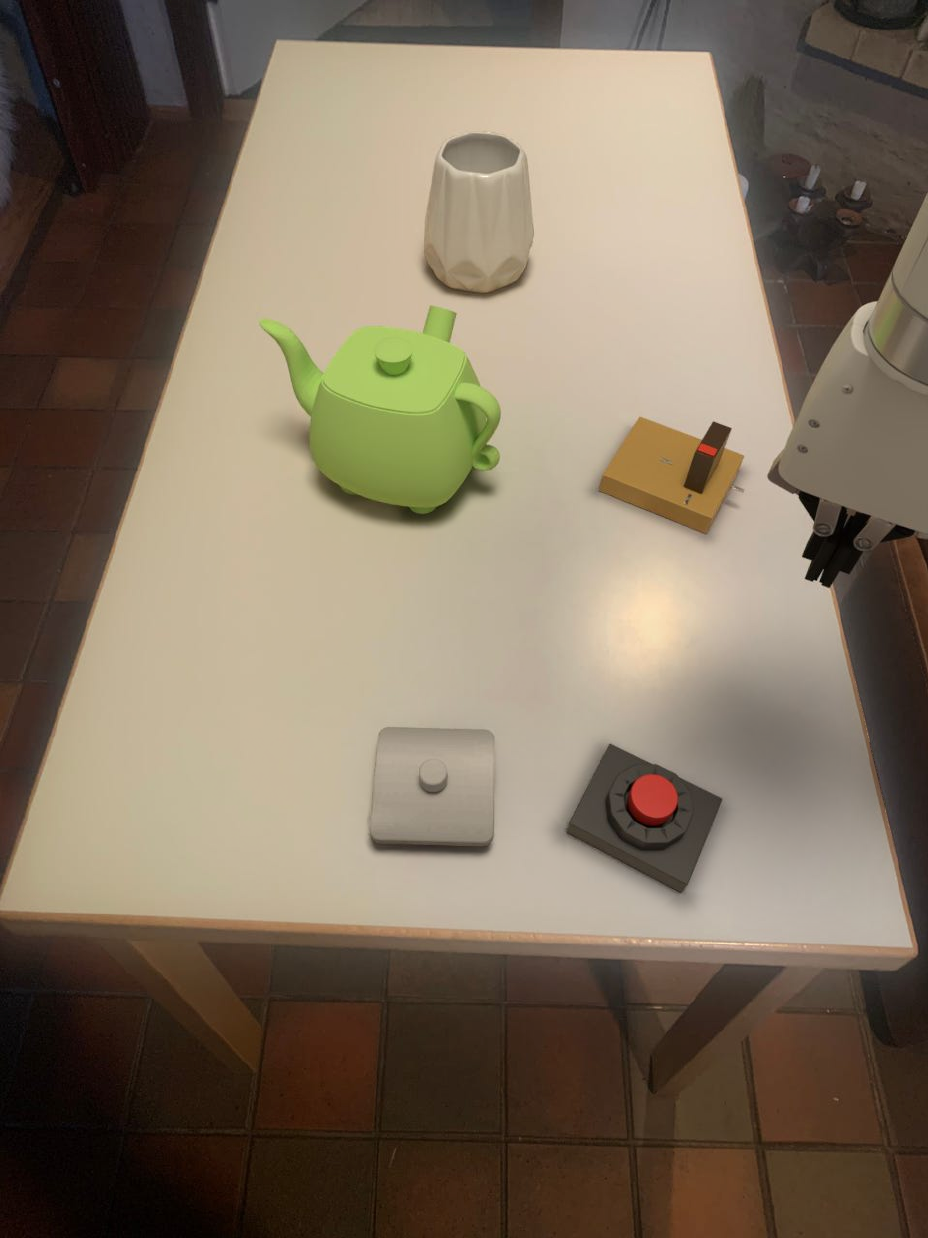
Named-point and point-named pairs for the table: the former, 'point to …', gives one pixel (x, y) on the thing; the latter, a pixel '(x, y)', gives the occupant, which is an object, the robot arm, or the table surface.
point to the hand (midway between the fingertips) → (822, 567)
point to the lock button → (652, 799)
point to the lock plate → (667, 475)
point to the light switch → (433, 787)
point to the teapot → (395, 412)
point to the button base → (632, 842)
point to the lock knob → (707, 457)
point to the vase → (479, 212)
